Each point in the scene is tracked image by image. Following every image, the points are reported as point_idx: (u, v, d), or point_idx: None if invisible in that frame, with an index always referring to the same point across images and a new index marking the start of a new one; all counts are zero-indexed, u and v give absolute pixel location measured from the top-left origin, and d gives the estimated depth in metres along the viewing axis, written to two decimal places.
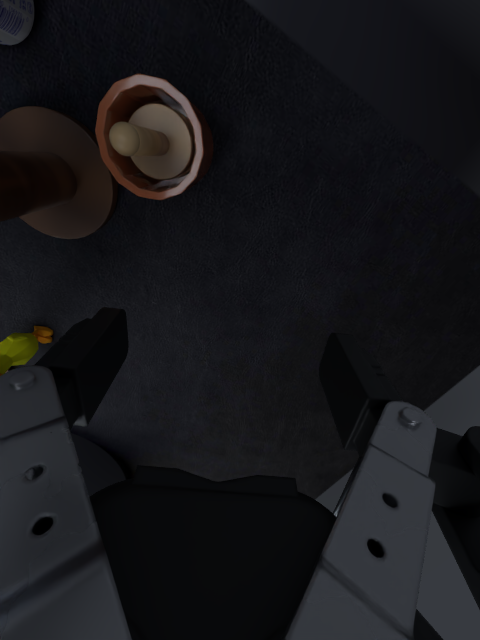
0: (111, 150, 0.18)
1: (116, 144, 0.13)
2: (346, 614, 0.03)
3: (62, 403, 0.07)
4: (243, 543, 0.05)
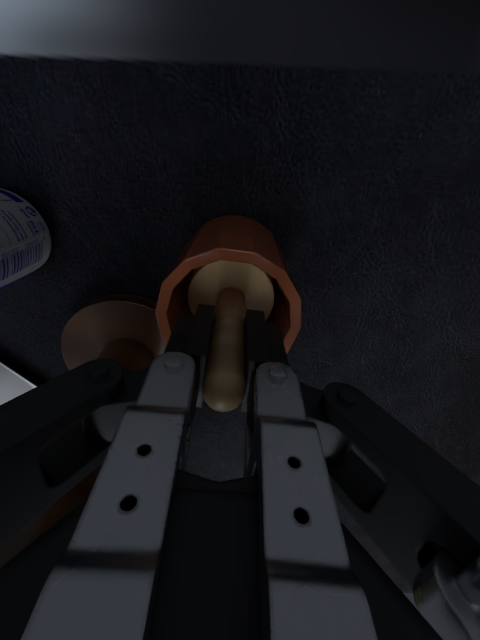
0: None
1: (219, 410, 0.09)
2: (309, 604, 0.03)
3: (196, 385, 0.09)
4: (243, 543, 0.05)
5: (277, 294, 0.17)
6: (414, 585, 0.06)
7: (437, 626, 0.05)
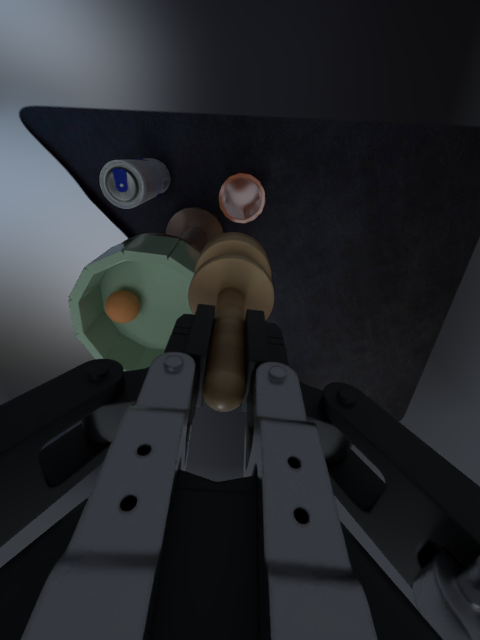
0: (226, 210, 0.42)
1: (220, 410, 0.09)
2: (309, 604, 0.03)
3: (196, 385, 0.09)
4: (243, 543, 0.05)
5: (259, 200, 0.44)
6: (414, 585, 0.06)
7: (437, 626, 0.05)
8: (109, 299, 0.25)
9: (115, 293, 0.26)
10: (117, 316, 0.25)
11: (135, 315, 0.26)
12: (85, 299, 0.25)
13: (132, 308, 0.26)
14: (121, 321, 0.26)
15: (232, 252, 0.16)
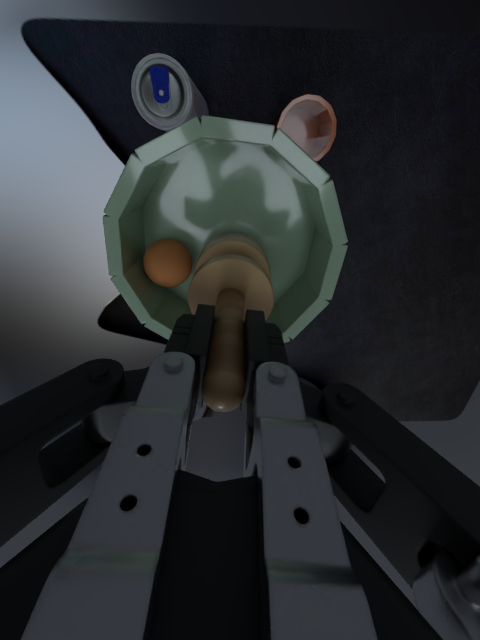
0: None
1: (219, 410, 0.09)
2: (309, 604, 0.03)
3: (196, 385, 0.09)
4: (243, 543, 0.05)
5: (320, 139, 0.35)
6: (414, 585, 0.06)
7: (437, 626, 0.05)
8: (171, 240, 0.18)
9: (182, 245, 0.18)
10: (150, 256, 0.17)
11: (161, 281, 0.18)
12: (126, 221, 0.16)
13: (169, 272, 0.17)
14: (145, 265, 0.17)
15: (232, 252, 0.16)
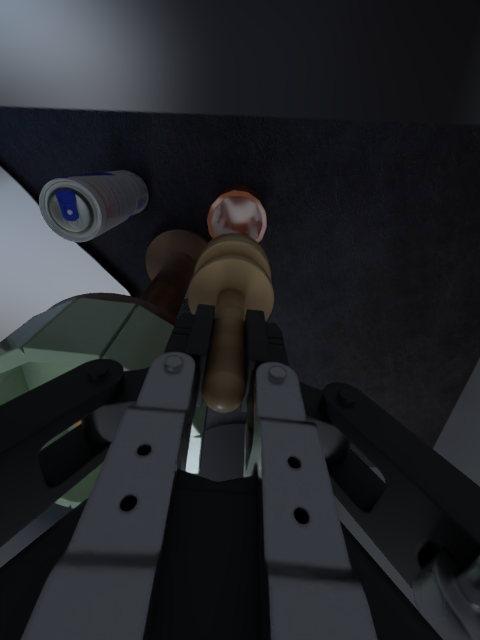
0: None
1: (219, 411, 0.09)
2: (309, 604, 0.03)
3: (196, 385, 0.09)
4: (243, 543, 0.05)
5: (259, 221, 0.35)
6: (414, 585, 0.06)
7: (437, 626, 0.05)
8: None
9: None
10: None
11: None
12: None
13: None
14: None
15: (232, 253, 0.16)
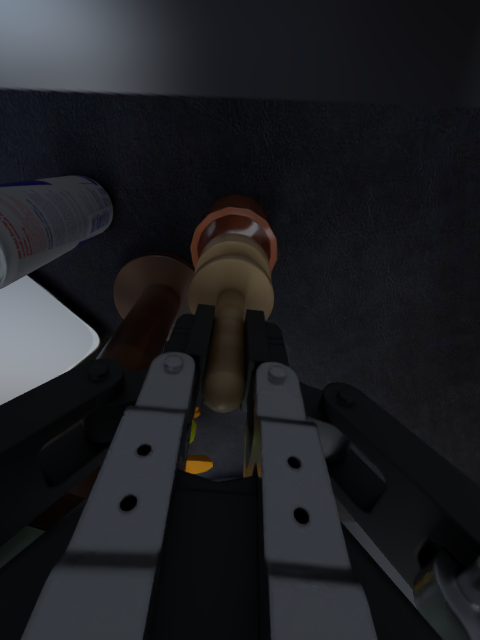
0: None
1: (219, 411, 0.09)
2: (309, 604, 0.03)
3: (196, 385, 0.09)
4: (243, 543, 0.05)
5: (265, 246, 0.26)
6: (414, 585, 0.06)
7: (437, 626, 0.05)
8: None
9: None
10: None
11: None
12: None
13: None
14: None
15: (232, 253, 0.16)
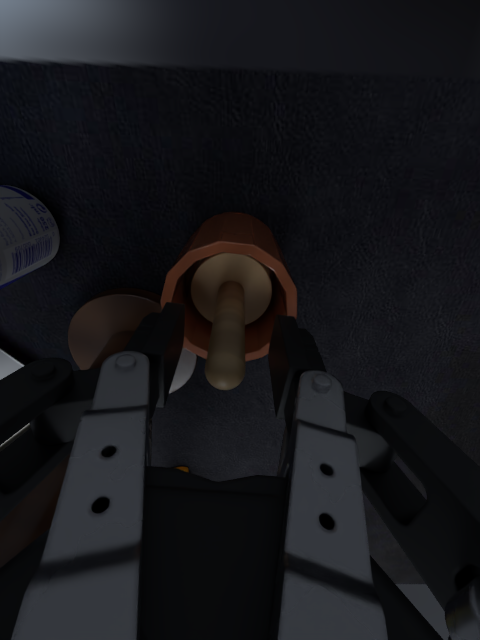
0: (189, 332, 0.15)
1: (221, 388, 0.10)
2: (321, 604, 0.03)
3: (153, 385, 0.08)
4: (243, 543, 0.05)
5: (275, 287, 0.18)
6: (447, 605, 0.05)
7: None
8: None
9: None
10: None
11: None
12: None
13: None
14: None
15: None
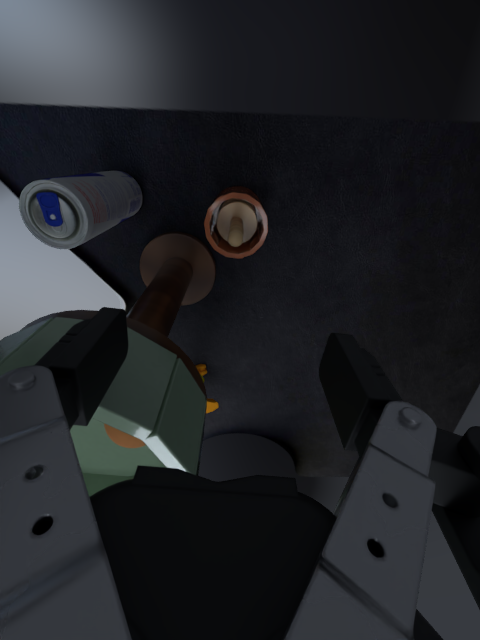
0: (216, 241, 0.31)
1: (234, 244, 0.25)
2: (346, 614, 0.03)
3: (62, 403, 0.07)
4: (243, 543, 0.05)
5: (259, 225, 0.33)
6: None
7: None
8: None
9: None
10: None
11: None
12: None
13: None
14: None
15: None
